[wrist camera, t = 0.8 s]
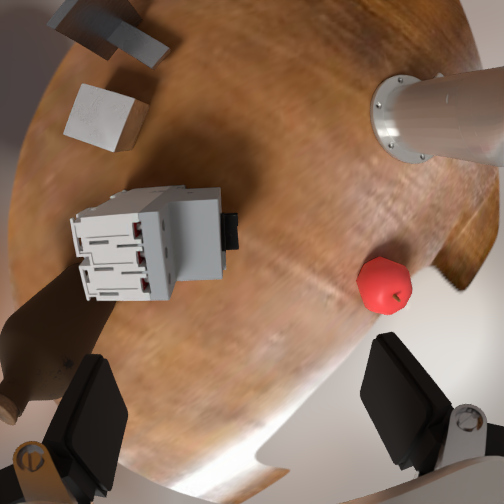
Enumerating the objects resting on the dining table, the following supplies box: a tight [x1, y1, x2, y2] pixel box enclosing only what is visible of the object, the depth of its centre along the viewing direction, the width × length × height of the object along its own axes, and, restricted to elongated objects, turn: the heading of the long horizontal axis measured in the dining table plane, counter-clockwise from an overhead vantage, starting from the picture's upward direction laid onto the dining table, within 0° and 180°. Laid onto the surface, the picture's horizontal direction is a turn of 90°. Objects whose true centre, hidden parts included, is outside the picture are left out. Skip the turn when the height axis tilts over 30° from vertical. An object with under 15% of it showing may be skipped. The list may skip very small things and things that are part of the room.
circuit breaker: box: [70, 185, 239, 301], centre depth 30 cm, size 8×14×15 cm, turn 91°
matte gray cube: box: [63, 83, 150, 152], centre depth 29 cm, size 7×6×6 cm
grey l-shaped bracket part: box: [46, 0, 171, 70], centre depth 23 cm, size 7×9×14 cm
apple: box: [356, 256, 412, 315], centre depth 39 cm, size 8×8×8 cm
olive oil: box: [0, 263, 115, 425], centre depth 28 cm, size 11×11×25 cm
